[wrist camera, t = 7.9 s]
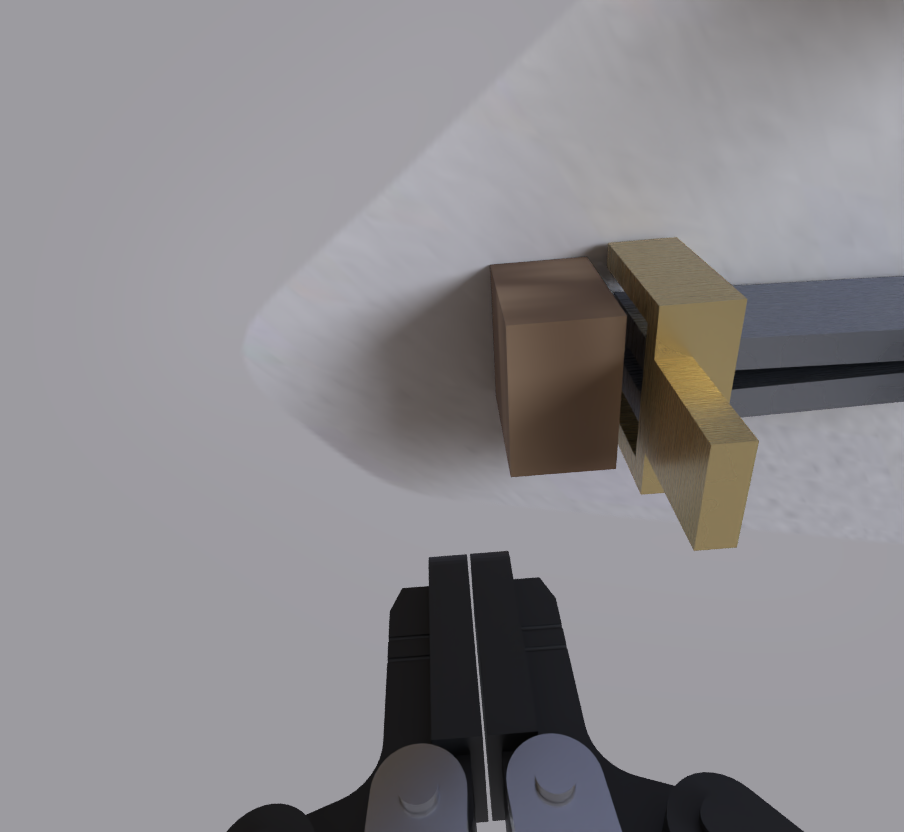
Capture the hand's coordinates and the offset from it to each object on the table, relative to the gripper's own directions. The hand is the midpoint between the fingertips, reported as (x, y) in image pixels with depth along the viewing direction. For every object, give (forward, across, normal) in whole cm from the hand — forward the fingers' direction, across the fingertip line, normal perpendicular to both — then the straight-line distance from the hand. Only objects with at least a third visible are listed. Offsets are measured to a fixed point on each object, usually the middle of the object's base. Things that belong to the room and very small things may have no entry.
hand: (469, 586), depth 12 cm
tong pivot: (+12, -3, 0) cm, 12 cm away
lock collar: (+12, -7, 0) cm, 13 cm away
